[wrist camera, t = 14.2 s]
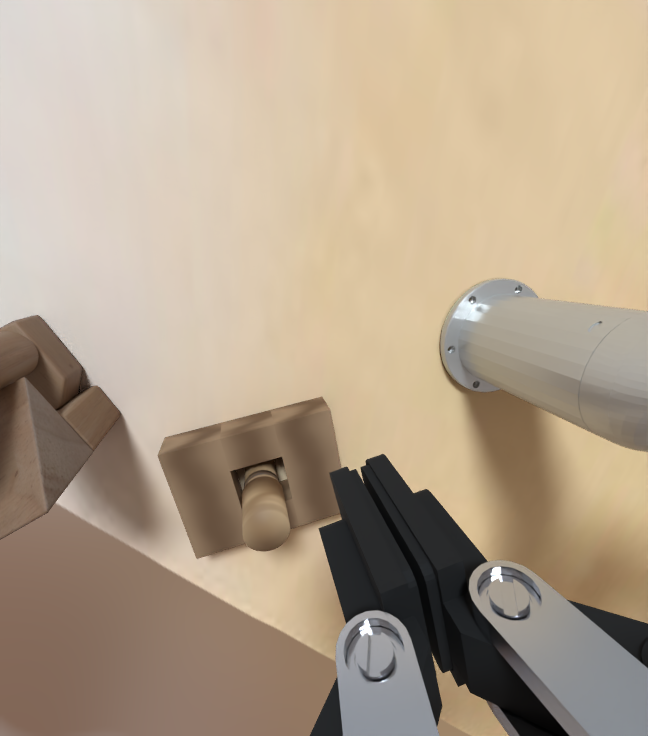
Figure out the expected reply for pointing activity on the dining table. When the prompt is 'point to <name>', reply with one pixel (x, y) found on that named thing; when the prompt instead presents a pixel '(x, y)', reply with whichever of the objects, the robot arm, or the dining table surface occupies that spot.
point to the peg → (264, 508)
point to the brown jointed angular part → (42, 421)
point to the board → (244, 448)
